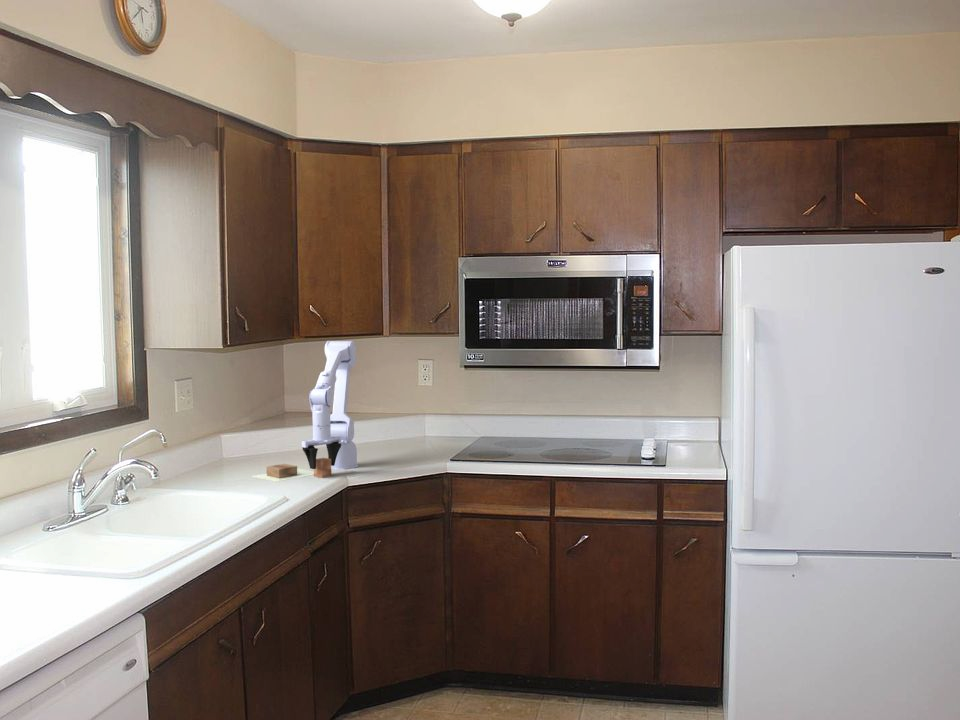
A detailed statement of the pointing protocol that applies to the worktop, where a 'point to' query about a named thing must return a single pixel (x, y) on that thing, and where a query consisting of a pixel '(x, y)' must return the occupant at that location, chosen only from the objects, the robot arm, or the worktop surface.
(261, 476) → the plate
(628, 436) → the worktop surface
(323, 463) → the cherry block
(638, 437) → the worktop surface
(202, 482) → the worktop surface
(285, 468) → the walnut slab
